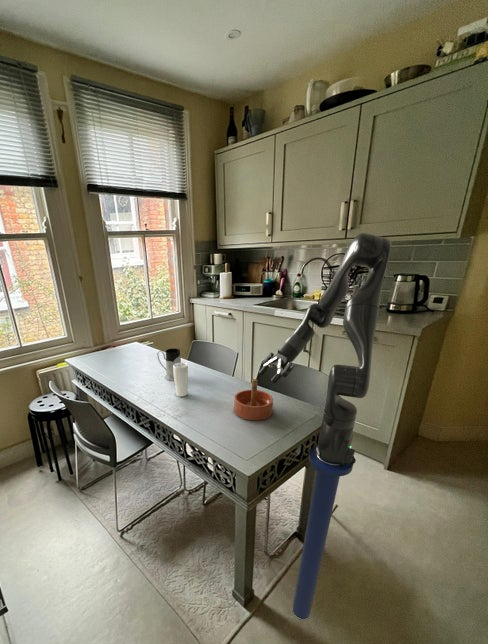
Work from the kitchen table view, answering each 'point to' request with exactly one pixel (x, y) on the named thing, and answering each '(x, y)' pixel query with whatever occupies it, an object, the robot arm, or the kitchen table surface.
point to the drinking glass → (180, 378)
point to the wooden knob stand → (253, 394)
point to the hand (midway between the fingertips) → (266, 378)
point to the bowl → (253, 411)
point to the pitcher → (171, 361)
